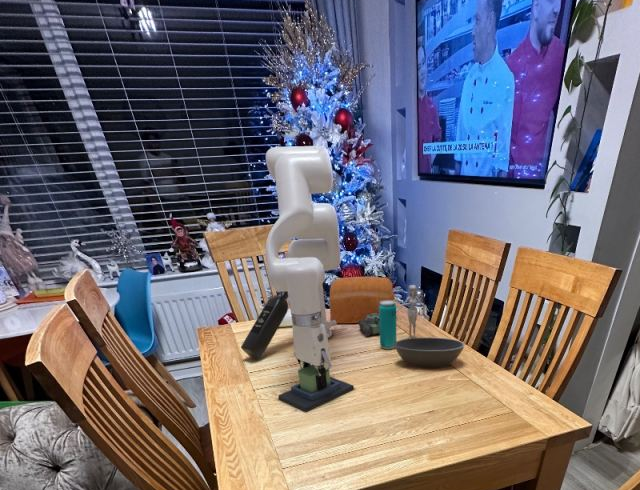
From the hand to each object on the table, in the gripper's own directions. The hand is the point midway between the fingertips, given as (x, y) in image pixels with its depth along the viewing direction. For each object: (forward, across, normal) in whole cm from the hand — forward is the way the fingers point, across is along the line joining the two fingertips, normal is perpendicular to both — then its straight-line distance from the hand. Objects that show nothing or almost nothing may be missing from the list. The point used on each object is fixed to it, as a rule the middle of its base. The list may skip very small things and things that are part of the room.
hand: (315, 384), depth 121 cm
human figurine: (+3, +8, -53) cm, 54 cm away
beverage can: (+3, +9, -41) cm, 42 cm away
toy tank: (+3, +24, -50) cm, 56 cm away
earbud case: (+3, +59, -35) cm, 69 cm away
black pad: (+3, 0, 0) cm, 3 cm away
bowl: (+3, -11, -38) cm, 40 cm away
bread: (+3, +39, -59) cm, 71 cm away
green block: (+1, 0, 0) cm, 1 cm away
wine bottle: (+1, +37, -3) cm, 37 cm away
